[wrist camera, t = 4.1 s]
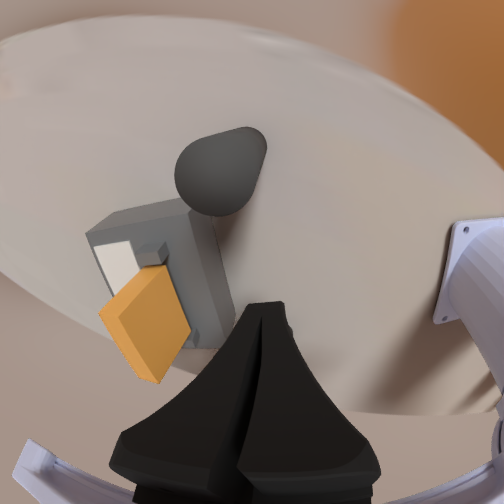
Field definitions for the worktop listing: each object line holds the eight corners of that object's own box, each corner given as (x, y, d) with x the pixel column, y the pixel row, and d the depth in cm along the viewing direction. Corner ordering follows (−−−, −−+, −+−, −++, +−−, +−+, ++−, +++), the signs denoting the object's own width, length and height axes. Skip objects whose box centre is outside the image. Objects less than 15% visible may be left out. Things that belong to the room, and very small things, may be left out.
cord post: (263, 123, 12) (247, 129, 6) (270, 163, 13) (262, 210, 7) (222, 130, 12) (166, 147, 6) (229, 169, 13) (185, 222, 7)
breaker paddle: (165, 265, 12) (117, 317, 9) (191, 331, 13) (159, 384, 10) (145, 265, 12) (98, 313, 9) (172, 328, 14) (139, 378, 11)
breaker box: (205, 193, 14) (179, 222, 10) (235, 314, 17) (225, 361, 14) (113, 212, 15) (74, 241, 11) (155, 317, 18) (133, 357, 15)
